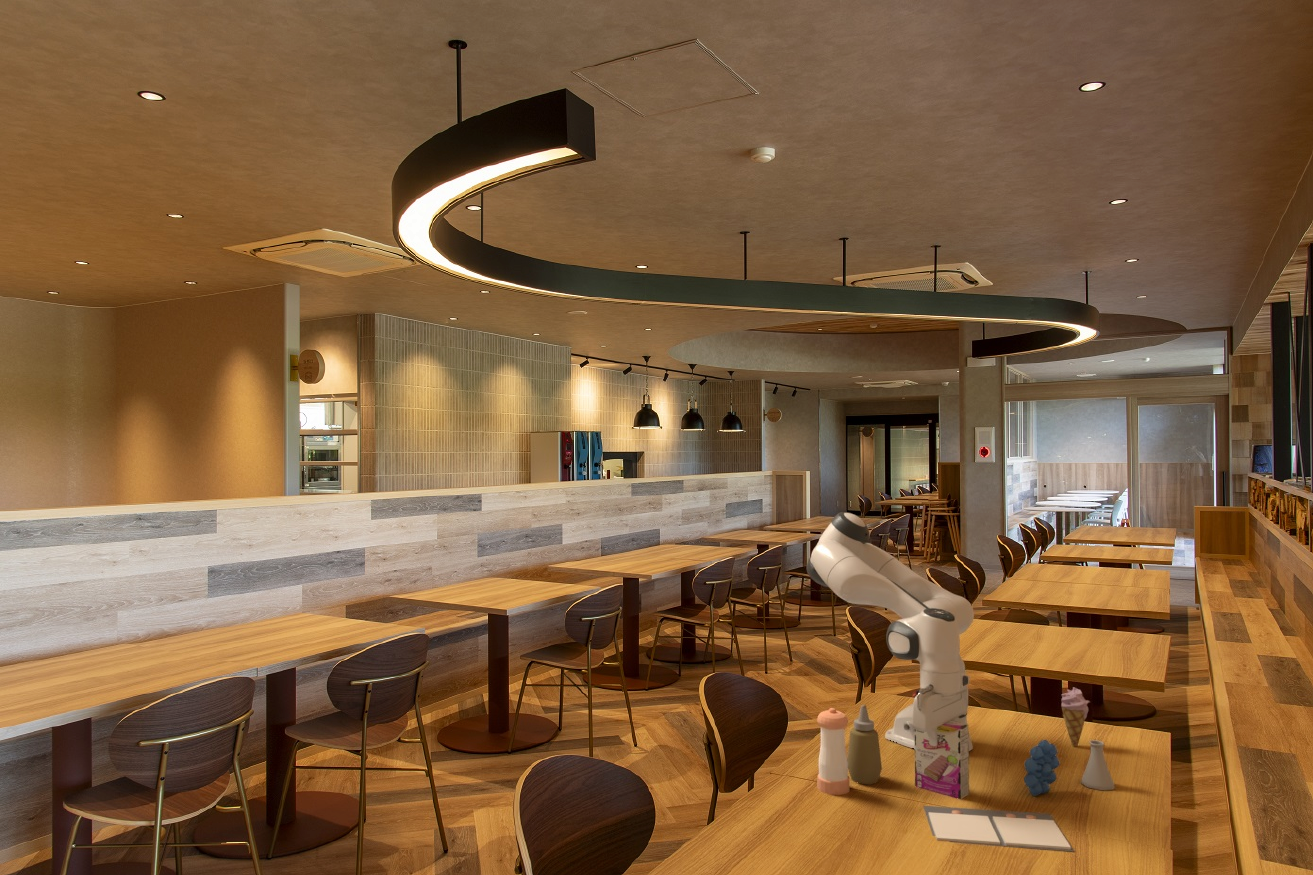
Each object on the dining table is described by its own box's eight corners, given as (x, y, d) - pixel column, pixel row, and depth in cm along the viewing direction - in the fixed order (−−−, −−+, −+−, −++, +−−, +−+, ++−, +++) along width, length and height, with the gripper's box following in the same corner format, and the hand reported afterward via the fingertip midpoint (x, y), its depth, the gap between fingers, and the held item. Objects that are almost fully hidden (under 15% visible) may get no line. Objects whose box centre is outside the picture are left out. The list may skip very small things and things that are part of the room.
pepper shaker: (852, 788, 196) (851, 705, 197) (845, 800, 190) (844, 714, 190) (821, 783, 199) (820, 702, 200) (814, 795, 193) (812, 710, 193)
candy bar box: (914, 788, 196) (913, 717, 196) (923, 782, 199) (922, 712, 200) (961, 802, 188) (960, 728, 188) (970, 795, 192) (969, 722, 192)
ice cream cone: (1091, 744, 224) (1090, 687, 224) (1089, 751, 219) (1088, 693, 219) (1063, 739, 227) (1062, 684, 228) (1060, 746, 222) (1059, 689, 222)
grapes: (1040, 782, 199) (1039, 731, 199) (1067, 791, 193) (1066, 739, 194) (1009, 793, 193) (1008, 740, 193) (1036, 803, 187) (1035, 749, 187)
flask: (1119, 792, 193) (1118, 748, 193) (1085, 790, 194) (1084, 746, 194) (1109, 780, 200) (1108, 737, 200) (1076, 778, 201) (1075, 736, 201)
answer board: (934, 845, 168) (934, 838, 168) (923, 809, 185) (923, 803, 185) (1074, 855, 163) (1074, 848, 163) (1050, 817, 180) (1050, 811, 180)
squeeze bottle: (883, 777, 203) (882, 702, 203) (880, 790, 195) (879, 712, 195) (849, 773, 205) (848, 699, 206) (845, 786, 198) (844, 709, 198)
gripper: (931, 693, 185) (931, 756, 184) (972, 675, 199) (973, 733, 199) (904, 687, 189) (905, 749, 189) (947, 670, 203) (948, 727, 203)
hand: (940, 741), depth 194 cm, fingers closed on candy bar box, 5 cm apart
